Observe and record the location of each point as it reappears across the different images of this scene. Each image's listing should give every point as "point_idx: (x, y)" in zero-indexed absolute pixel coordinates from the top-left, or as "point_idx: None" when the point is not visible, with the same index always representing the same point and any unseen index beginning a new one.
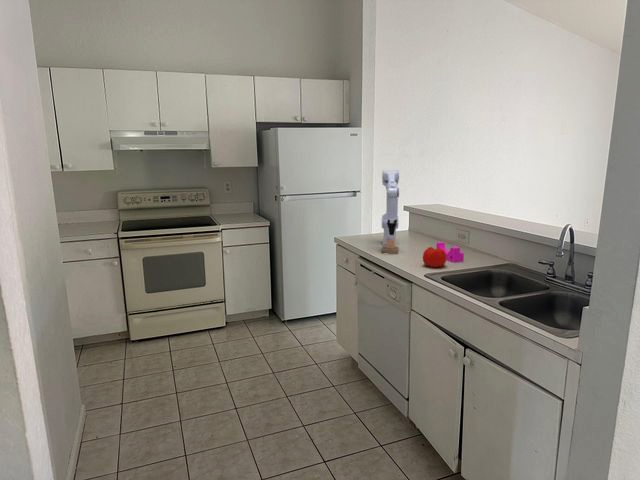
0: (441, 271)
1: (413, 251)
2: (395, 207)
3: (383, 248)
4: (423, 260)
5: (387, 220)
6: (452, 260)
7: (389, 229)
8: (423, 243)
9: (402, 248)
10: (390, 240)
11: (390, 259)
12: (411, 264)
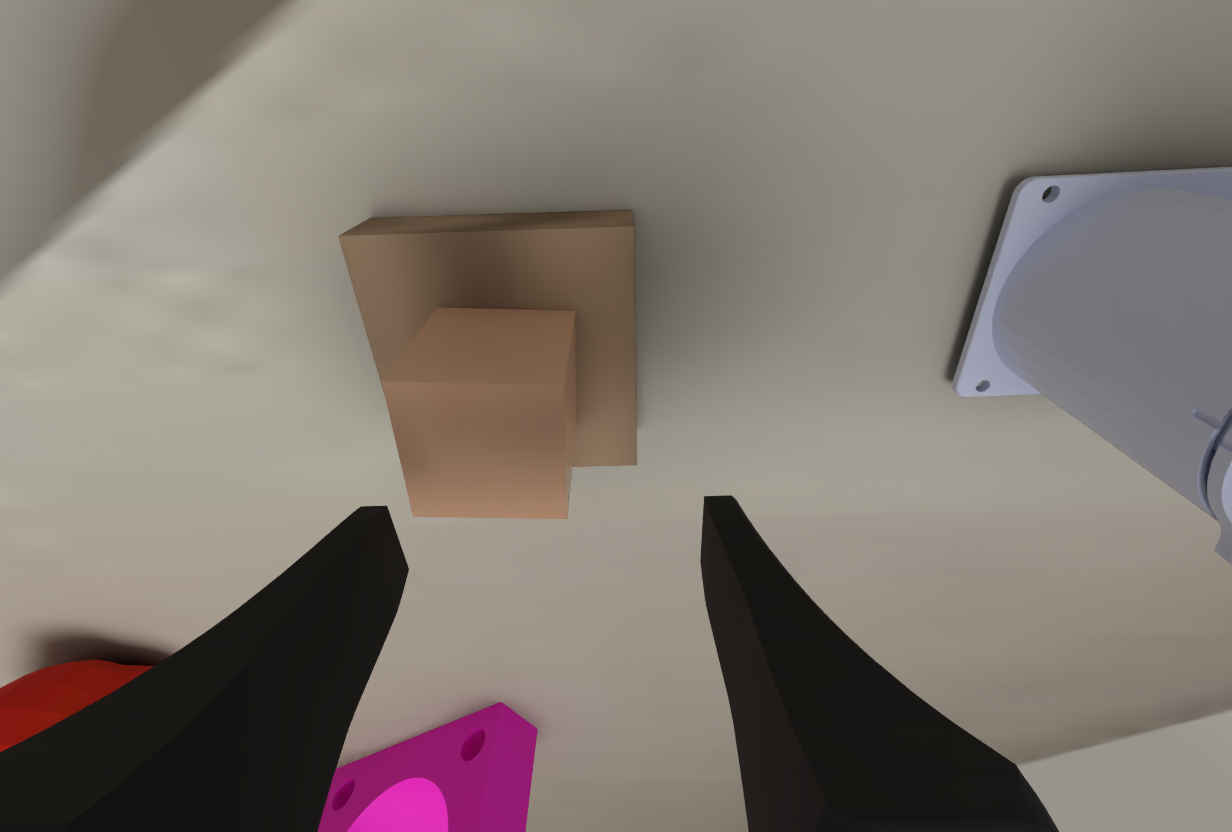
0: None
1: (635, 565)
2: None
3: (434, 259)
4: (3, 690)
5: (841, 822)
6: (337, 779)
7: (242, 626)
8: (1032, 631)
9: (783, 464)
10: (402, 446)
11: (120, 365)
12: (61, 562)
